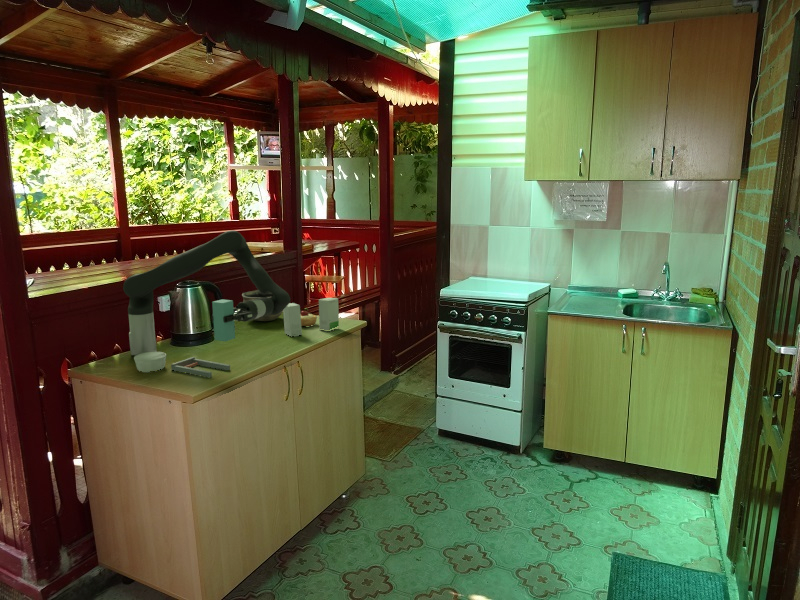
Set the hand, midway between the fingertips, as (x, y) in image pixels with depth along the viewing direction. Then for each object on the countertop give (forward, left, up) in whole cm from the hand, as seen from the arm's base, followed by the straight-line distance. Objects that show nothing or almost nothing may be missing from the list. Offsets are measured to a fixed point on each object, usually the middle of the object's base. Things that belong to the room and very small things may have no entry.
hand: (218, 318), depth 187 cm
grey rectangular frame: (-8, +10, -22) cm, 25 cm away
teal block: (+2, +2, -8) cm, 8 cm away
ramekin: (-27, +17, -22) cm, 39 cm away
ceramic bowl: (+15, +90, -22) cm, 94 cm away
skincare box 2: (+46, +62, -22) cm, 80 cm away
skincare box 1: (+28, +56, -22) cm, 66 cm away
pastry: (+35, +74, -22) cm, 85 cm away
